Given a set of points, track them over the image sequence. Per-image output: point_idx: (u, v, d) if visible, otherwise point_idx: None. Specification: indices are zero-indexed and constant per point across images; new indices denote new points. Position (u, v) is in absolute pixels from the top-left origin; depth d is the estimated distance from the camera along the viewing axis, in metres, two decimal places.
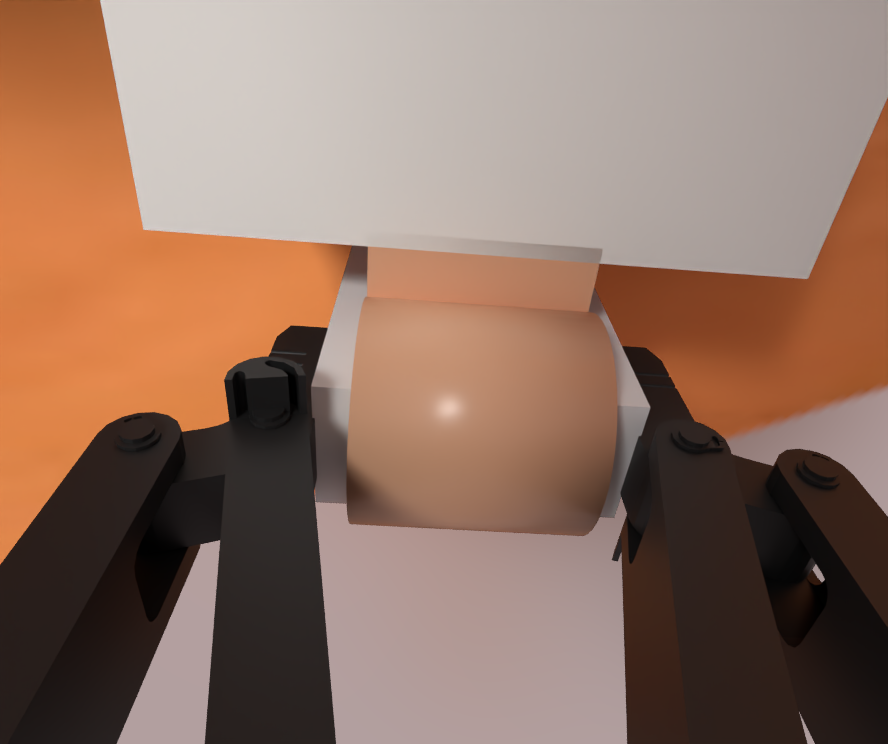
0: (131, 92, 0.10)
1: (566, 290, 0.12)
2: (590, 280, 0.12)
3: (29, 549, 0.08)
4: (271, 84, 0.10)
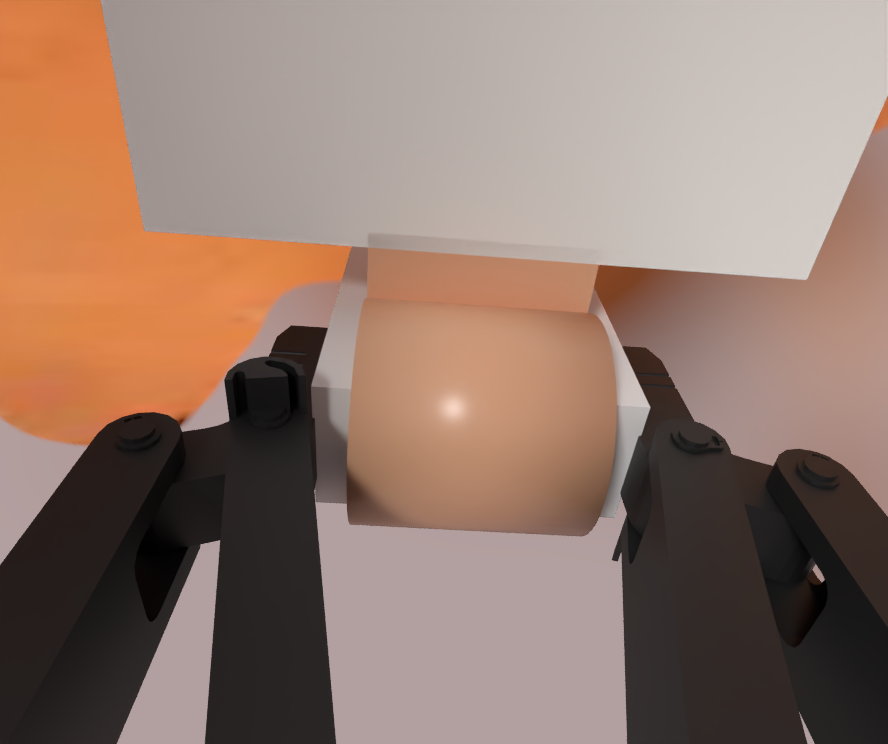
0: (132, 93, 0.10)
1: (565, 291, 0.12)
2: (589, 281, 0.12)
3: (29, 549, 0.08)
4: (272, 85, 0.10)
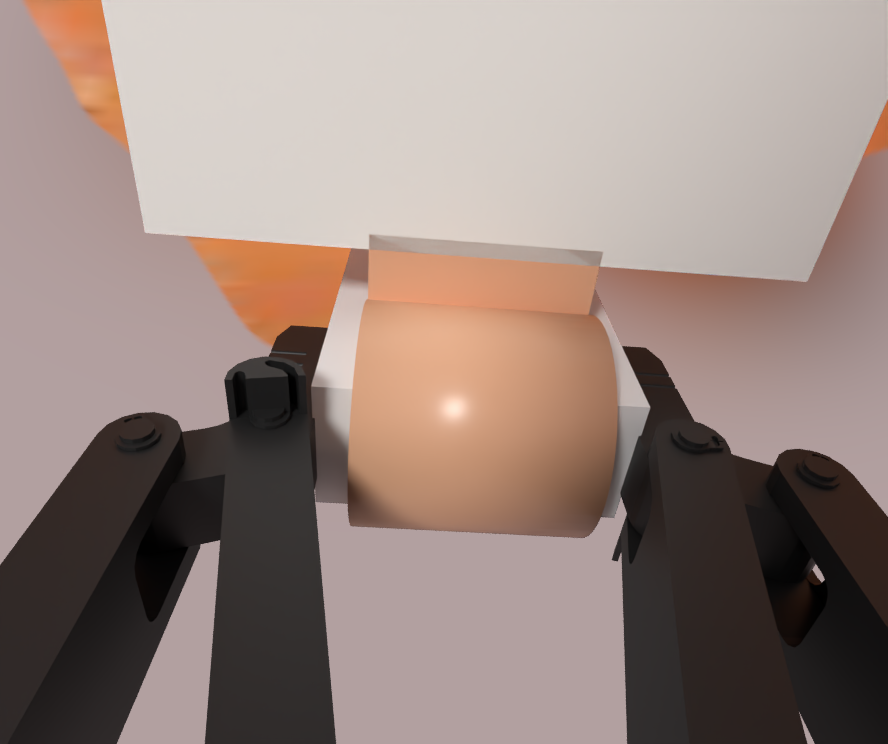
0: (133, 95, 0.10)
1: (566, 293, 0.12)
2: (590, 283, 0.12)
3: (29, 549, 0.08)
4: (273, 87, 0.10)
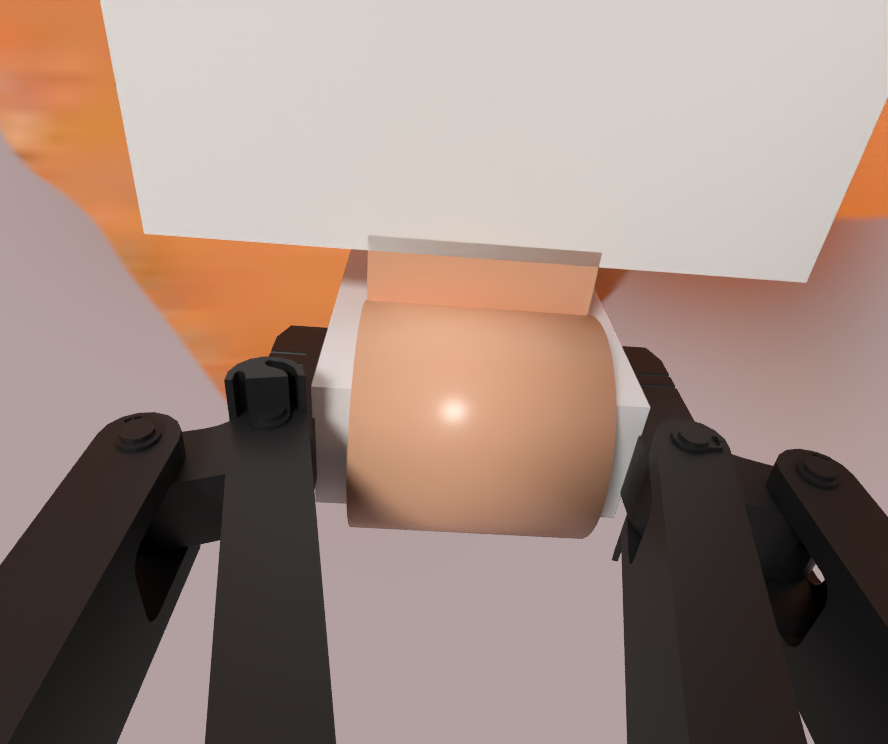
0: (132, 97, 0.10)
1: (565, 293, 0.12)
2: (589, 284, 0.12)
3: (29, 549, 0.08)
4: (272, 89, 0.10)
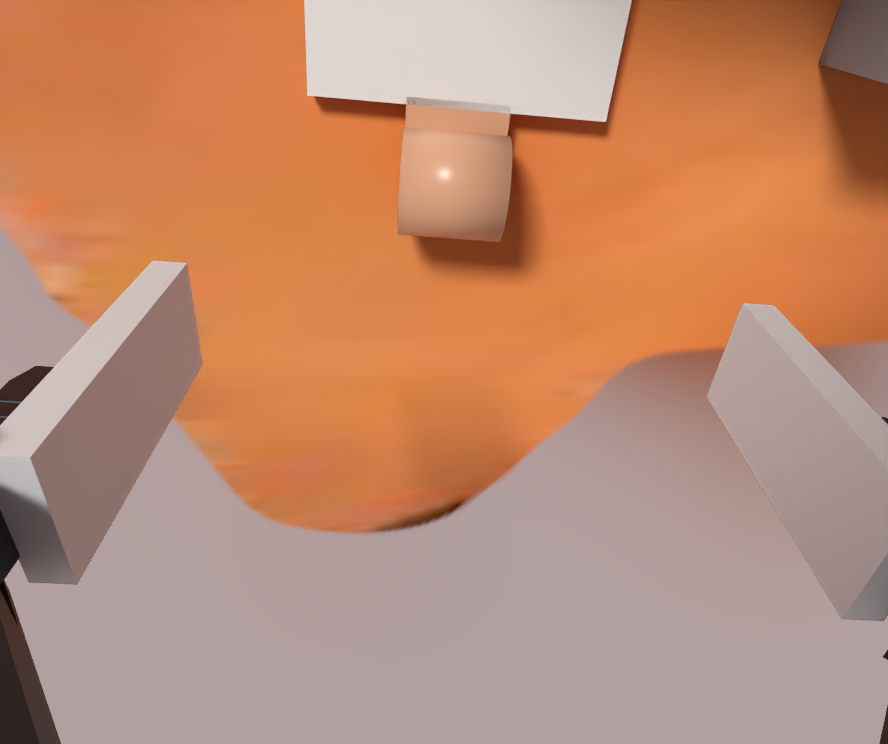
0: (310, 31, 0.25)
1: (496, 127, 0.27)
2: (506, 122, 0.27)
3: None
4: (369, 28, 0.25)
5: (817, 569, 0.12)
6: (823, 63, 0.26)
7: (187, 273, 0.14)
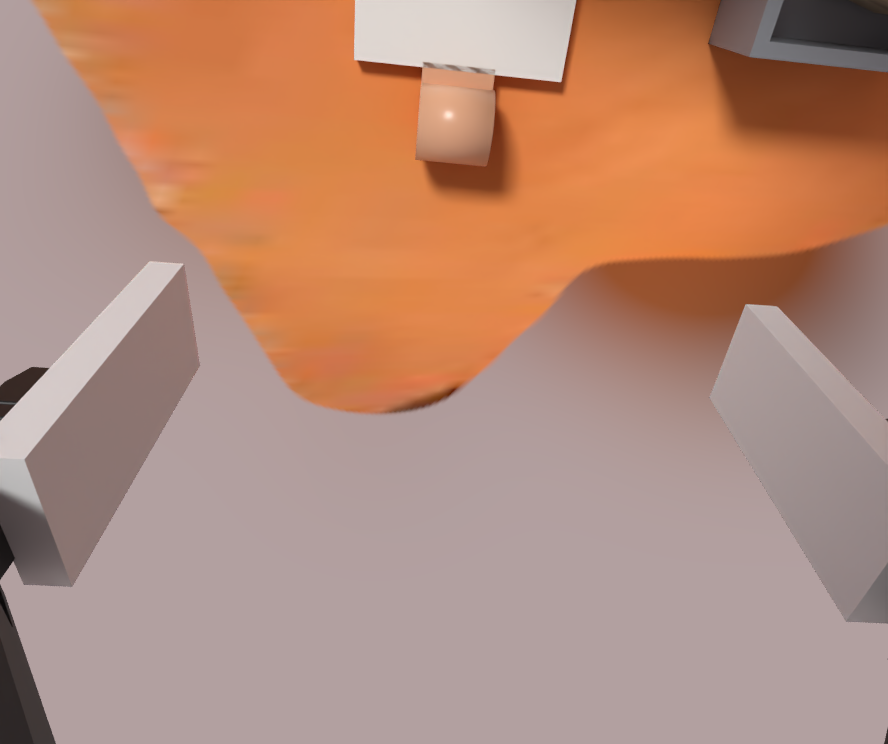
0: (359, 15, 0.36)
1: (484, 85, 0.39)
2: (492, 81, 0.38)
3: None
4: (398, 13, 0.36)
5: (821, 571, 0.11)
6: (710, 43, 0.38)
7: (184, 274, 0.14)
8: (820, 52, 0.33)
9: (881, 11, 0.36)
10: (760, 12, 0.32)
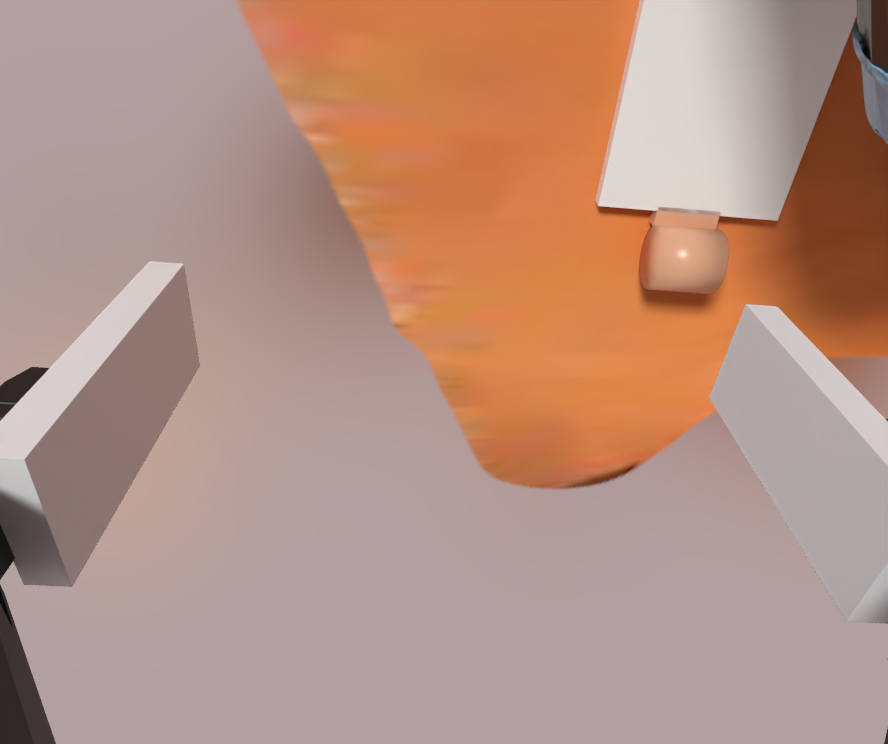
0: (609, 171, 0.42)
1: (709, 223, 0.44)
2: (716, 220, 0.44)
3: None
4: (644, 169, 0.42)
5: (821, 571, 0.11)
6: None
7: (184, 274, 0.14)
8: None
9: None
10: None
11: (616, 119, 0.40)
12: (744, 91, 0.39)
